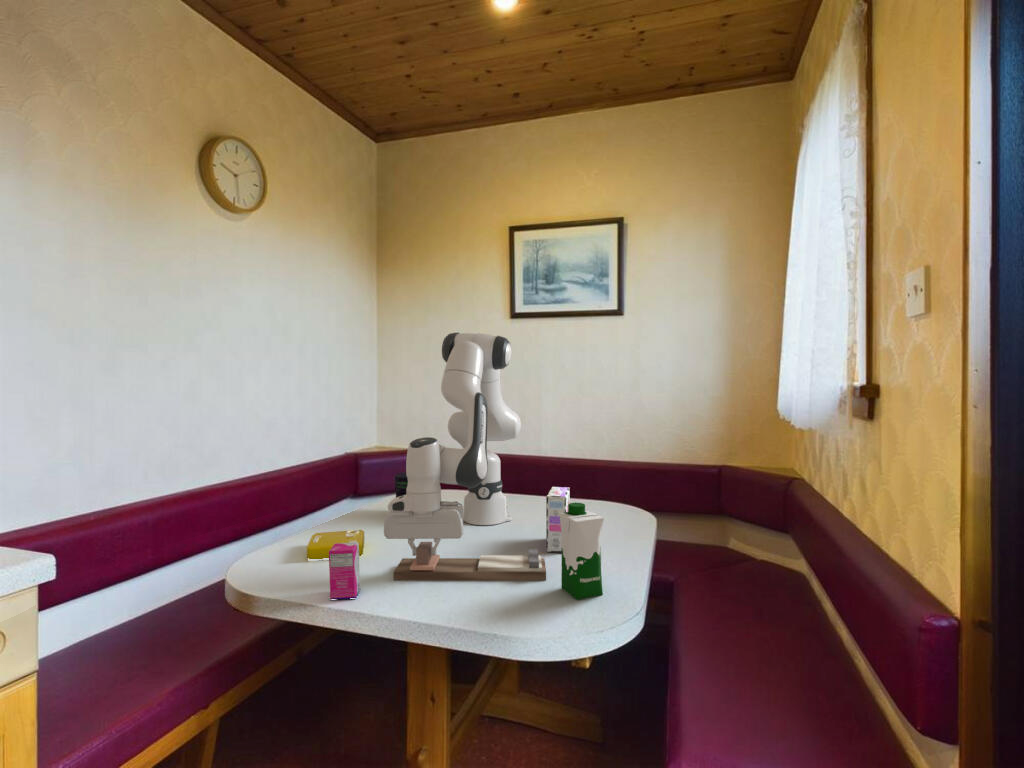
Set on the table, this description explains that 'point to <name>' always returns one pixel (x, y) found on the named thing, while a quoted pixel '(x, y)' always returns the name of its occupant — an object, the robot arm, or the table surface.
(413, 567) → the pink plate with handle
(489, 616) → the table surface
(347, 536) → the element tile
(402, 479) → the storage jar
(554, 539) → the candy box
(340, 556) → the supplement box
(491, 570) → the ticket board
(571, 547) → the milk carton
